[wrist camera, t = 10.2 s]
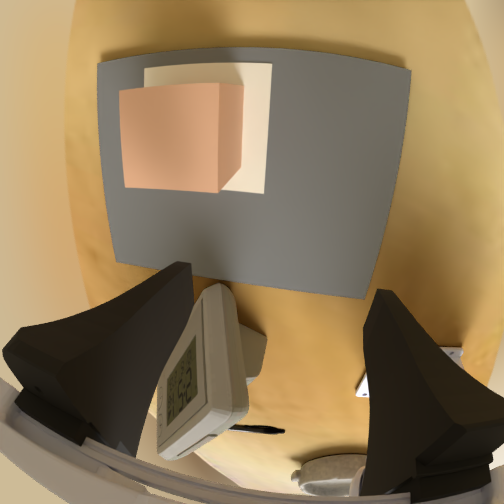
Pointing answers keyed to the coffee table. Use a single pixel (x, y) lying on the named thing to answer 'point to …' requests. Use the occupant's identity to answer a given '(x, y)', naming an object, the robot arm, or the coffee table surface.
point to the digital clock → (207, 375)
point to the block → (181, 136)
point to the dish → (329, 475)
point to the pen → (257, 429)
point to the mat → (268, 169)
